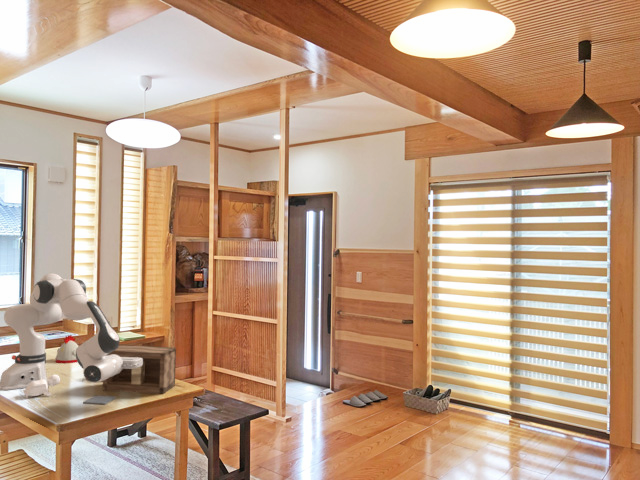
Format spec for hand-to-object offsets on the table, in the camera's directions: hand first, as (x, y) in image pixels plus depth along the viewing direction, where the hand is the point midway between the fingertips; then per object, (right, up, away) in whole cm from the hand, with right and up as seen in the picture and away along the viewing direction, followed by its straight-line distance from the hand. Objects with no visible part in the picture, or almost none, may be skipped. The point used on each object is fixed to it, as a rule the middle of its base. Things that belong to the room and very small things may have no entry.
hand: (127, 358), depth 236 cm
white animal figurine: (-39, -17, -1) cm, 42 cm away
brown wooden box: (+1, -18, +14) cm, 22 cm away
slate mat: (-9, -17, -7) cm, 21 cm away
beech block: (+1, -15, +12) cm, 19 cm away
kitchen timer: (-59, -17, +67) cm, 91 cm away
